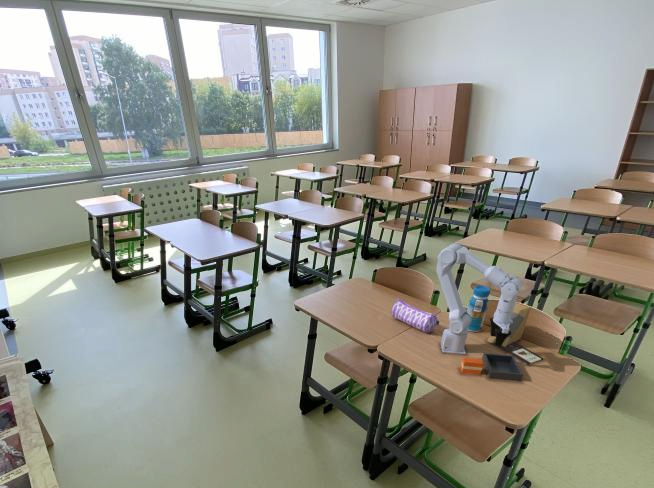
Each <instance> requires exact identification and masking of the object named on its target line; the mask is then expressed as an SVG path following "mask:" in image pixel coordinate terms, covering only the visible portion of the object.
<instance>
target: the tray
mask: <svg viewBox="0 0 654 488" xmlns="http://www.w3.org/2000/svg"><path fill="white" fill-rule="evenodd" d="M481 359H482V361H483V367H484V370H485V372H486V375H487V378H488V379H492V380H503V381H513V382H514V381H515V382H522V379H523V376H524V374H523V371H522V370H521V367H520V366H519V363H518V361H517V360H516V357H514V356H513V355H511V354H499V353H488V352H483V353H482V357H481Z"/></svg>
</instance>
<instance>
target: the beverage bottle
mask: <svg viewBox="0 0 654 488" xmlns="http://www.w3.org/2000/svg"><path fill="white" fill-rule="evenodd" d="M490 294H491V288H490V287H488V286H486V285H476V286H475V287H474V288H473V292H472V296H471V297H470V298H469V300H468V302H469V304H467V308H466V309H467V312H468V313H469V314H470V316H471V317H472V322H471V324H470V325H469V326H468V332H472V333H478V332H481V331H482V329H483V325H484V323H485V319H486V314H487V312H488V309H489V308H488V306H489V303H490V302H489V299H488V298H489V297H490Z"/></svg>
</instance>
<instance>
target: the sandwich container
mask: <svg viewBox="0 0 654 488" xmlns="http://www.w3.org/2000/svg"><path fill="white" fill-rule="evenodd" d="M530 312H531V307H529V306H527V305H524V304H521V303H518V302H516V303H515V307H514V310H513V313H512V316H511V319H510V320H512V321H513V323H510V325H509V331H511V335H509V336H508V337H507V338H506V339H505V341H504V342H503V344H502V346H504V347H505V346H507V345H509V344H511V343H512V342H515V343H517V342H518V341H519V340H520V339H522V336H523V333H524V330H525V328H526V325H527V322H528V319H529V315H530ZM500 329H501V328H500ZM495 339H496V337H494V336H491V334H490V335H489V337H488V339H487V340H486V343H490V344H492V345H493V343H494V342H495Z"/></svg>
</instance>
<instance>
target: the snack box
mask: <svg viewBox="0 0 654 488" xmlns="http://www.w3.org/2000/svg"><path fill="white" fill-rule="evenodd" d="M483 367H484V364H483V361H482V358H473V357H462V359H461V364H460V371H461V374H470V375H481V374H482V371H483Z"/></svg>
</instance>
